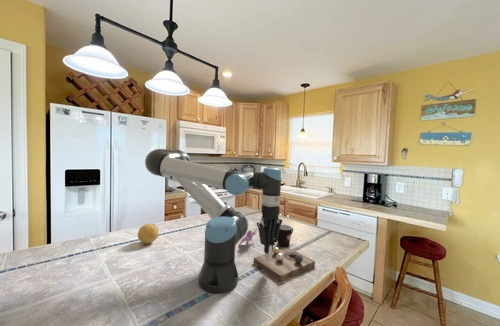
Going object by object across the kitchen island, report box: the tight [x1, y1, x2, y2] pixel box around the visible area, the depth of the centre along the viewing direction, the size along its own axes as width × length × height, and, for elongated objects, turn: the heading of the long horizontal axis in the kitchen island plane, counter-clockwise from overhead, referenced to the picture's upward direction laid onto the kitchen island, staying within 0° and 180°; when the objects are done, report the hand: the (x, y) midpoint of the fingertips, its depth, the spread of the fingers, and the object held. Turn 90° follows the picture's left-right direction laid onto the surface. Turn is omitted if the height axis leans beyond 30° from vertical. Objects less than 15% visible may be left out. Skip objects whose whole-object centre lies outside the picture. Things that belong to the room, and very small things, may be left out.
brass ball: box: [273, 246, 280, 255], centre depth 101 cm, size 3×3×3 cm
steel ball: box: [276, 253, 284, 262], centre depth 95 cm, size 3×3×3 cm
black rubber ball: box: [295, 255, 302, 263], centre depth 94 cm, size 3×3×3 cm
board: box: [253, 247, 316, 283], centre depth 97 cm, size 22×17×2 cm
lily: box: [238, 229, 258, 249], centre depth 115 cm, size 12×12×10 cm
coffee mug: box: [276, 224, 294, 248], centre depth 119 cm, size 12×9×10 cm
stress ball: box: [137, 223, 160, 245], centre depth 112 cm, size 10×10×10 cm
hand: (268, 259), depth 90 cm, fingers closed
